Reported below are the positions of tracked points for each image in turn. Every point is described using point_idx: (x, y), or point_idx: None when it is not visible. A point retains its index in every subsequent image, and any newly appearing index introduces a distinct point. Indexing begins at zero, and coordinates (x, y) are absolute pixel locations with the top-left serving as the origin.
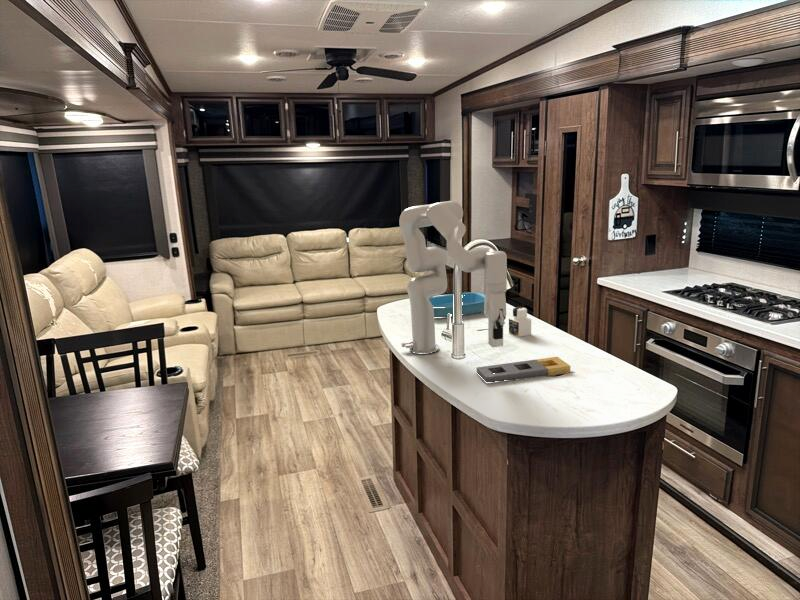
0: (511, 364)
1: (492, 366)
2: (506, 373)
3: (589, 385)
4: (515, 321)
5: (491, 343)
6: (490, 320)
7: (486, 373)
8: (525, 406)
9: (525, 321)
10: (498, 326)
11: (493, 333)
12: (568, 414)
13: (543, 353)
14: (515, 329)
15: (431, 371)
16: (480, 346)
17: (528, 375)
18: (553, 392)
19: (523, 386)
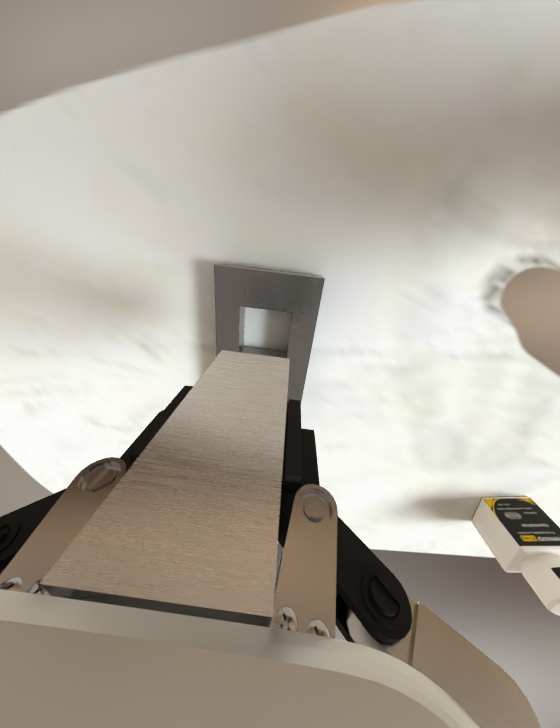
0: (289, 394)
1: (303, 336)
2: (226, 347)
3: None
4: (536, 546)
5: (234, 360)
6: (167, 556)
7: (250, 285)
8: (42, 296)
9: (509, 558)
10: (22, 508)
11: (179, 413)
12: (3, 365)
13: (349, 486)
14: (512, 516)
15: (479, 52)
16: (523, 399)
17: None
18: (127, 398)
19: (176, 357)
